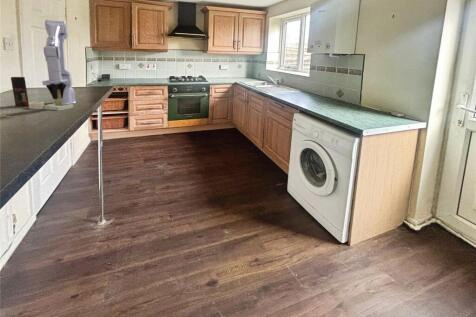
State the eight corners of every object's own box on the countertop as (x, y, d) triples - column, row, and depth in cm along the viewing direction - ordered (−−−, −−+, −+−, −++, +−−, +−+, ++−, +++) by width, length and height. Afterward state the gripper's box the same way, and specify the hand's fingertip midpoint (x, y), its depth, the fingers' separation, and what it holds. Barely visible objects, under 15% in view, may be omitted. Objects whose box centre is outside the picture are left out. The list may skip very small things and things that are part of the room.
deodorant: (22, 108, 167) (17, 78, 162) (12, 107, 168) (7, 77, 163) (31, 106, 172) (27, 77, 168) (22, 105, 173) (17, 76, 169)
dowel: (58, 104, 170) (56, 88, 167) (63, 104, 169) (61, 89, 167) (54, 105, 167) (51, 89, 165) (59, 105, 167) (57, 89, 164)
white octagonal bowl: (37, 107, 170) (36, 101, 169) (47, 108, 169) (46, 102, 168) (26, 109, 164) (25, 103, 163) (36, 110, 163) (36, 104, 162)
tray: (60, 106, 175) (59, 102, 174) (74, 108, 173) (73, 104, 172) (43, 109, 165) (42, 105, 164) (58, 111, 163) (57, 107, 162)
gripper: (49, 72, 155) (53, 101, 160) (71, 71, 169) (74, 97, 173) (37, 71, 157) (41, 99, 161) (60, 70, 170) (63, 96, 175)
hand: (57, 98), depth 167 cm, fingers closed on dowel, 3 cm apart
